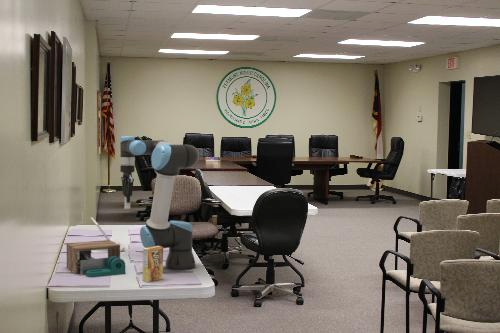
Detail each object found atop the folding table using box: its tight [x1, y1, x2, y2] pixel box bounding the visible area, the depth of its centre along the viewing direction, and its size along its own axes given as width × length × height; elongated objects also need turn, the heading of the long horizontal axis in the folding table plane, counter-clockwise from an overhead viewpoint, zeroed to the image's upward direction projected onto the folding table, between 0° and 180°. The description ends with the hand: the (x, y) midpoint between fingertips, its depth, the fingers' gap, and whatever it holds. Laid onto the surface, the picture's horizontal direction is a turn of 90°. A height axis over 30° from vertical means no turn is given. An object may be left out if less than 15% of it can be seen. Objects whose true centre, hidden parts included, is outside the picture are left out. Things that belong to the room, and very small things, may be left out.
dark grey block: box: [78, 250, 111, 275], centre depth 323 cm, size 27×19×9 cm
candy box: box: [142, 246, 164, 283], centre depth 299 cm, size 9×4×15 cm, turn 137°
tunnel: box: [66, 239, 121, 275], centre depth 320 cm, size 16×22×12 cm
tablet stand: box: [90, 216, 126, 255], centre depth 371 cm, size 18×25×17 cm
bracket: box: [85, 256, 126, 278], centre depth 309 cm, size 18×7×8 cm, turn 121°
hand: (127, 208), depth 348 cm, fingers closed
